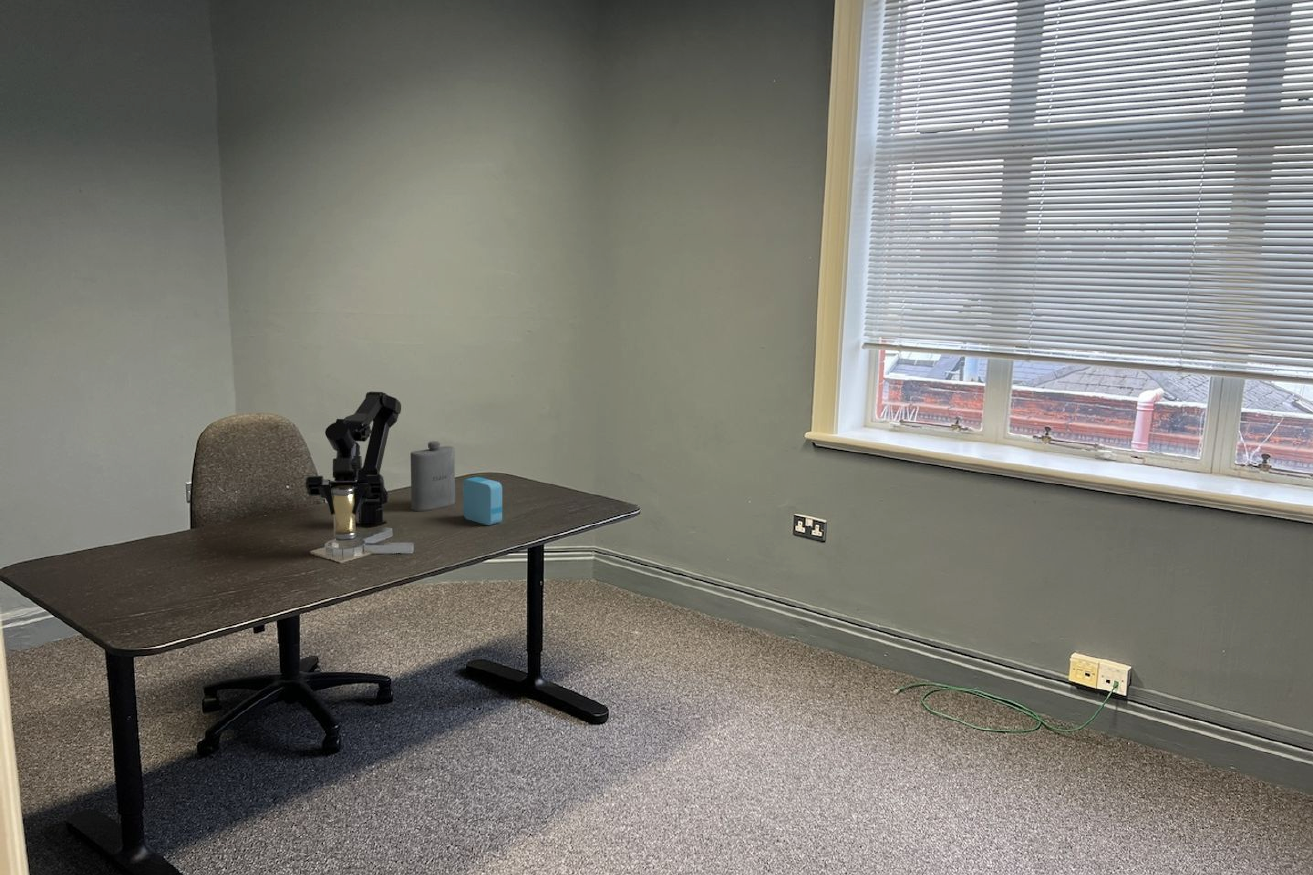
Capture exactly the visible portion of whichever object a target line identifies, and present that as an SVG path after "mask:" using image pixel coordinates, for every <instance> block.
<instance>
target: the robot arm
mask: <svg viewBox="0 0 1313 875" xmlns="http://www.w3.org/2000/svg"><path fill="white" fill-rule="evenodd" d="M401 412H402V403H401V402H400V400H399V399H397V398H396V397H393V396H390V395H388V394H387V393H386V392H383V391H369V392H366V394H365V398H364V400H363V401H362V402H361V404H360V405H359V407H358V408H357V409H356V411H355V412H354V413H353V414H350V415H347V416H345V417H344V418H336V420H335V422H333V423H331V424H329V425H328V426H327V427H326V428H325V431H324V432H325V437H326V438H327V440H328V442H329V444H330V446H331V447H332V450H334V451H335V452H336V455H335V456H336V457H335V458H333V459H332V478H334V480H330V479H329V478H327V479H324V475H308V476H307V477H306V478H305V484H304V485H305V487H306V491H307V494H308V495H309V496H312V497H313V496H314V497H315V496H316V497H317V496H320V498H322V499H325V501H326V503H327V504H328V508H329V511H330V515H331V516H333V494H332V488H333V487H335V486H340V485H350V486H354V487H355V492H354V498H355V506H354V514H355V516H356V515H357V514H358V520H355V525H358V526H362V527H366V528H371V527H376V526H380V525H383V524H387V520H384V519H383V517H384V514H383V511H384V510H383V504H387V503H388V498H389V497H388V496H389V494H388V491H387V489H386V488H385V480H384V476H383V475H382V474H381V468H382V463H383V460H384V454H385V450H386V447H387V446H386V445H387V440H388V436H389V432H390V428H392V427H393V426H394V425H395V424H396V423H397V422H398V419H399V415H400V414H401ZM371 424H372V426H371ZM368 439H369V440H368ZM366 441H368V444H367V446H366V447H367V448H366V453H365V457H364V460H363V459H362V455H361V446H360V444H359V443H358V442H361V443H364V442H366ZM362 460H363V461H364V462H363V461H362ZM362 462H363V463H362Z"/></svg>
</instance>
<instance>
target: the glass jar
mask: <svg viewBox="0 0 1313 875" xmlns="http://www.w3.org/2000/svg"><path fill="white" fill-rule="evenodd" d="M354 492H355V487H354V486H350V485H340V486H335V487H333V488H332V494H333V515H332V516H333V517H332V518H333V540H334V539H335V540H338V541H347V540H352V539H355V538H357V530H356V529H357V528H356V524H355V521H356V515H355V514H354V506H355V498H354Z"/></svg>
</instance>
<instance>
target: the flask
mask: <svg viewBox="0 0 1313 875" xmlns="http://www.w3.org/2000/svg"><path fill="white" fill-rule="evenodd" d="M427 447H428V449H421V450H413V451H412V452H410V491H411V492H410V494H411V497H410V498H411V510H412V511H414V512H426V511H427V512H429V511H433V509H434V510H437V509H438V508H439V509H443V508H446V507H450V506H453V505H454V504H455V503H456V476H455V475H456V471H455V470H456V469H455V468H456V467H455V466H456V465H455V464H456V462H455V447H453V446H447V445H446V446H445V445H444V446H441V443H440V442H439V441H435V440H434V441H433V440H432V441H429V442H428V443H427ZM442 507H443V508H442ZM428 510H429V511H428Z"/></svg>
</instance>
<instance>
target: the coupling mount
mask: <svg viewBox="0 0 1313 875" xmlns="http://www.w3.org/2000/svg"><path fill="white" fill-rule="evenodd" d="M393 535H394V534H393V528H392V527H388V526H387V527H386V526H385V527H383V528H380V529H377V530H375V531H372V532H369V533H366V534H364V535H361V536H359V537H356V538H355V539H352V540H347V541H338V540H335V539H334V538H333V539H331V540H328V541H327V542H326V543H324V547H320V548H317V549H313V550H310V551H309V554H310V553H311V554H310V555H313V554H314V556H317V557H320V558H323V559H327V560H329V559H331V560H330V561H333V560H334V561H333V562H337V563H340V564H343V563H346V562H350V561H352V560H355V559H360V558H363V557H366V556H369V555H372V554H375V555H377V554H378V555H380V554H381V555H382V554H386V555H390V554H396V553H397V555H398V553H401V554H413V552H414V542H381V541H384V540H387V539H389V538H392V537H393ZM386 538H387V539H386ZM349 560H350V561H349Z"/></svg>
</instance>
